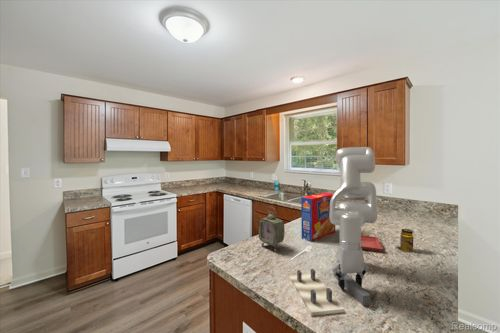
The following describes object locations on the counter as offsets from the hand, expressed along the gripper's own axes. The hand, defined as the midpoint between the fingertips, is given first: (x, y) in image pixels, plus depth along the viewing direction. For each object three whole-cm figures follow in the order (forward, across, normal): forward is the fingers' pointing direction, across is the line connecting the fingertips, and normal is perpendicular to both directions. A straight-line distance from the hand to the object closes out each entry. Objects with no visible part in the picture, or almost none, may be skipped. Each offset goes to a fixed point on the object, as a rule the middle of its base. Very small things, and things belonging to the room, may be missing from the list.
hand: (350, 286), depth 88 cm
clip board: (+1, +16, 0) cm, 16 cm away
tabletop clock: (+1, +22, -45) cm, 50 cm away
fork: (+2, +8, -34) cm, 35 cm away
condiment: (+1, -53, -29) cm, 60 cm away
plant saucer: (+2, -34, -39) cm, 52 cm away
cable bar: (+1, 0, 0) cm, 1 cm away
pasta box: (+1, -15, -59) cm, 61 cm away
